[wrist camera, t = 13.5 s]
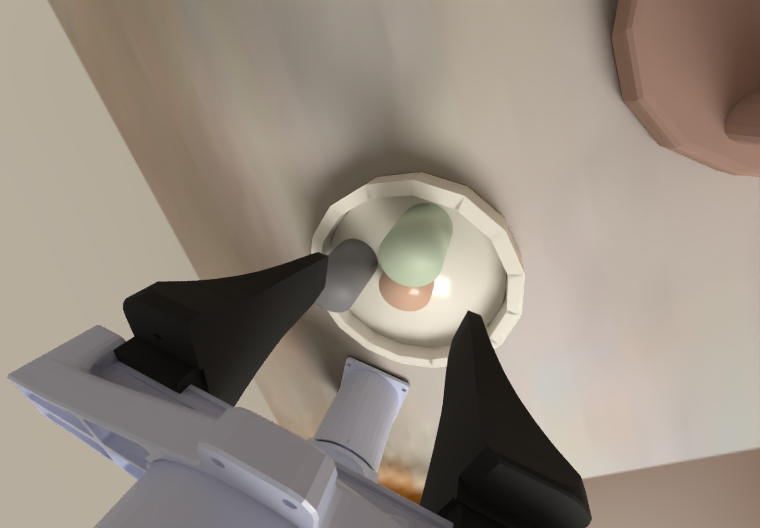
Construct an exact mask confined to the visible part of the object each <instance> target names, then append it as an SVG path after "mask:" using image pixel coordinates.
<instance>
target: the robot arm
mask: <svg viewBox="0 0 760 528" xmlns="http://www.w3.org/2000/svg"><path fill="white" fill-rule="evenodd" d="M328 259H329V256H327V255H325V254H322V253H320V252H317V253H313V254H310V255H308V256H305V257H302V258H299V259H297V260H294V261H291V262H288V263H285V264H282V265H279V266H275V267H272V268H269V269H265V270H262V271H258V272H254V273H249V274H244V275H239V276H233V277H226V278H219V279H210V280H198V281H172V282H171V281H168V282H156V283H154V284H152V285H150V286H149V287H147V288H145V289H143V290H141V291H139V292H137V293H136V294H134V295H132V296H130V297H128V298H126V299H125V301H124V303H123V310H124V313H125V316H126V318H127V321H128V323H129V325H130V327H131V330H132V332H133V334H134V337H133V338H131V339H130V340H128V341H127V342H126V341H125V340H124V339H123V338H122V337H121V336H119V335H118V334H116V333H114V332H112V331H110V330H108V329H106V328H104V327H102V326H100V325H96V326H94V327H93V328H91V329H89V330H87V331H85V332H84V333H82V334H80V335H78V336H77V337H75V338H73V339H71V340H70V341H68V342H66V343H64V344H62V345H60V346H59V347H57V348H55V349H53V350H51V351H50V352H48V353H46V354H44V355H42V356H41V357H39V358H37V359H35V360H33V361H32V362H30V363H28V364H26V365H24V366H23V367H21V368H19V369H17V370H16V371H14V372H12V373H10V374H9V375H8V379H9V380H10V381H11V382H12V383H13V384H14V385H15V386H16V387H17V388H18V389H19V390H20V392H21V393H23V395H24V396H26V398H27V399H28V400H29V401H30V402H31V403H32V404H33V405H34V406H35V407H36V408H37V409H38V410H39V411H40V412H41V413H42V414H43V415H44V416H45V417H46V418H48V419H49V420H51V421H52V422H54V423H56V424H57V425H59V426H60V427H62V428H63V429H65V430H66V431H68V432H69V433H71V434H72V435H74V436H75V437H77V438H78V439H80V440H81V441H83V442H84V443H86V444H87V445H89V446H90V447H91V448H93V449H94V450H96V451H97V452H98V453H100V454H101V455H103V456H104V457H106V458H107V459H109V460H110V461H111V462H113V463H114V464H116V465H117V466H118V467H120V468H121V469H122V470H124V471H125V472H127V473H128V474H130V475H131V476H132V477H134V478H135V479H137V480H138V481H137V482H136V483H135V484H134V485H133V486H132V487H131V488H130V490H128V492H127V493H126V494H125V495H124V496H123V497H122V498H121V499H120V500H119V501H118V502H117V503H116V504H115V505H114V506H113V508H112V509H111V510H110V511H109V512H108V513H107V514H106V515H105V516H104V517H103V518H102V519H101V520H100V521H99V522H98V523H97V525H96V526H95V527H94V528H586V527H587V526H588V525H589V524H590V522H591V519H592V517H591V513H590V509H589V504H588V500H587V495H586V491H585V488H584V485H583V481H582V478H581V476H580V475H579V474H578V473H577V471H576V470H575V469H574V468H573V467H572V466H571V465H570V463H569V462H568V461H567V460H566V459H565V458H564V457H563V455H562V454H561V453H560V452H559V451H558V450H557V449H556V447H555V446H554V445H553V444H552V443H551V441H550V440H549V439H548V437H547V436H546V435H545V434H544V432H543V431H542V430H541V429H540V427H539V426H538V425H537V423H536V422H535V420H534V419H533V418H532V416H531V415H530V413H529V412H528V410H527V409H526V408H525V406H524V405H523V403H522V402H521V400H520V399H519V397H518V395H517V394H516V392H515V390H514V389H513V387H512V385H511V384H510V382H509V380H508V378H507V376H506V375H505V373H504V371H503V368H502V366H501V364H500V362H499V360H498V358H497V356H496V353H495V351H494V348H493V346H492V344H491V341H490V338H489V336H488V333H487V330H486V327H485V324H484V322H483V319H482V316H481V315H479V314H477V313H474V312H471V311H469V310H468V311H467V313H466V315H465V317H464V318H463V320H462V322H461V324H460V326H459V328H458V330H457V331H456V333H455V335H454V337H453V339H452V342H451V346H450V350H449V355H448V360H447V369H446V378H445V388H444V397H443V406H442V412H441V417H440V422H439V427H438V431H437V436H436V440H435V445H434V449H433V454H432V458H431V462H430V466H429V470H428V474H427V479H426V483H425V487H424V490H423V494H422V498H421V502H420V505H418V504H416V503H414V502H412V501H410V500H408V499H407V498H405V497H403V496H401V495H399V494H397V493H395V492H393V491H391V490H390V489H388V488H386V487H384V486H382V485H380V484H378V483H377V480H378V477H379V474H378V473H377V472H378V469H379V465H380V462H381V459H382V456H383V452H384V449H385V446H386V443H387V439H388V436H389V433H390V430H391V426H392V424H393V422H394V420H395V418H396V416H397V414H398V412H399V409H400V407H401V405H402V403H403V401H404V399H405V397H406V395H407V393H408V391H409V388H410V385H409V384H408V383H407V382H404V381H402V380H400V379H398V378H396V377H393V376H391V375H389V374H387V373H385V372H382V371H380V370H378V369H376V368H374V367H371V366H369V365H367V364H365V363H362V362H360V361H358V360H356V359H354V358H351V357H348V358H347V360H346V363H345V367H344V372H343V376H342V381H341V385H340V389H339V390H338V392H337V394H336V396H335V398H334V400H333V402H332V404H331V405H330V407H329V409H328V411H327V413H326V415H325V417H324V419H323V420H322V422H321V424H320V426H319V428H318V430H317V432H316V434H315V435H314V437H313V439H311V438H309V439H308V441H307V440H306V439H304V438H302V437H300V436H298V435H296V434H294V433H292V432H290V431H288V430H287V429H285V428H283V427H281V426H279V425H277V424H275V423H273V422H271V421H269V420H268V419H266V418H264V417H262V416H260V415H258V414H256V413H254V412H252V411H250V410H247V409H245V408H241V407H234V406H235V405H236V403H237V402H238V400H239V399H240V397H241V395H242V394H243V392H244V391H245V389H246V388H247V386H248V385H249V383H250V382H251V380H252V379H253V377H254V376H255V374H256V373H257V371H258V370H259V368H260V367H261V366H262V364H263V363H264V361H265V360H266V359H267V357H268V356H269V354H270V353H271V352H272V350H273V349H274V348H275V346H276V345H277V344H278V342H279V341H280V340H281V338H282V337H283V336H284V335H285V334H286V333H287V331H288V330H289V329H290V328H291V327H292V326H293V325H294V324H295V323H296V322H297V321H298V320H299V319H300V317H301V316H302V315H303V314H304V313H305V312H306V311H307V310H308V309H309V308H310V307H311V306H312V304H313V303H314V302H315V301H316V299H317V298H318V297H319V295H320V294H321V292H322V291H323V289H324V288H325V283H326V275H327V267H328Z"/></svg>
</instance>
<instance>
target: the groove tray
mask: <svg viewBox="0 0 760 528" xmlns="http://www.w3.org/2000/svg"><path fill="white" fill-rule="evenodd" d="M419 203H431V204H434V205H437V206H439V207H441V208H442V209H443V210H444V211H445V212H446V213H447V214H448V215H449V217H450V219H451V221H452V225H453V233H452V237H451V240H450V243H449V247H448V250H447V253H446V257H445V260H444V263H443V267H442V270H441V272H440V274H439V276H438V277H437V278H436V279H435V280H434V281H433V282H431V283H429V284H427V285H425V286H421V287H408V286H404V285H401V284H399V283H397V282H395V281H394V280H392V279H391V278H390V277H389V276H388V275H387V274H386V273H385V272H384V270H383V269H382V267H381V265H380V262H379V256H378V251H379V247H380V244H381V242H382V240H383V239H384V238H385V236H386V235H387V234H388V233H389V231H390V230H391V229H392V228H393V226H394V225H395V224H396V223H397V221H398V220H399V219H400V218H401V217H402V215H403V214H404V213H405V212H406V211H407V210H408V209H409V208H410V207H412V206H413V205H416V204H419ZM351 209H352V210H351ZM350 210H351V211H350ZM347 239H358V240H361V241H363V242H365V243H366V244H368V245H369V246H370V247H371V248H372V249H373V251H374V252H375V254H376V256H377V260H378V266H377V270H376V272H375V273H374V275H373V276H372V278H371V279H370V280H369V282H368V283H367V285H366V286H365V288H364V289H363V291H362V292H361V293H360V295H359V296H358V298H357V299H356V301H355V302H354V304H353V305H352V306H351V308H350V309H348V310H347V311H345V312H340V313H335V312H331V311H328V310H327V311H328V312H329V314H330V315H331V316H332V318H333V319H334V320H335V322H336V323H337V325H338V326H339V327H340V328H341V329H342V330H343V331H345V332H346V333H347V334H349V335H350V336H351V337H352V338H354V339H355V340H356V341H357V342H359V343H360V344H361V345H362V346H364V347H365V348H366V349H368V350H371V351H373V352H375V353H377V354H380V355H382V356H384V357H386V358H389V359H391V360H393V361H395V362H398V363H403V364H410V365H416V366H423V367H429V368H438V367H445V366H447V360H448V355H449V350H450V346H451V342H452V339H453V337H454V335H455V333H456V331H457V330H458V328H459V326H460V324H461V322H462V320H463V318H464V317H465V315H466V313H467V311H468V310H469V311H471V312H474V313H477V314H479V315H481V316H482V319H483V322H484V324H485V327H486V330H487V333H488V336H489V338H490V341H491V344H492V346H493V348H494V349H495V348H497V347H499V346H500V345H501V344H502V343H503V341H504V340H505V338H506V337H507V335H508V334H509V333H510V331H511V330H512V328H513V327H514V325H515V324H516V323H517V321H518V320H519V318H520V317H521V315H522V304H523V293H524V281H525V272H524V267H523V262H522V257H521V255H520V253H519V251H518V248H517V246H516V244H515V241H514V239H513V237H512V235H511V232H510V230H509V228H508V226H507V223H506V221H505V219H504V217H503V216H501V215H500V214H499V213H498V212H497V211H496V210H494V209H493V208H492V207H491V206H490V205H489V204H487V203H486V202H485V201H484V200H483V199H482V198H480V197H479V196H478V195H477V194H476V193H475V192H473V191H472V190H471V189H470V188H469V187H468V186H465V185H462V184H458V183H455V182H452V181H449V180H445V179H442V178H439V177H436V176H433V175H429V174H426V173H423V172H417V173H408V174H399V175H390V176H381V177H376V178H375V179H373V180H371V181H370V182H368V183H367V184H365V185H363V186H362V187H360V188H358V189H357V190H355V191H354V192H352V193H350V194H349V195H347V196H346V197H344V198H342V199H341V200H339V201H338V202H336V203H334V204H333V205H331V206H330V208H329V209H328V211H327V213H326V214H325V216H324V218H323V219H322V221H321V223H320V224H319V226H318V228H317V229H316V231H315V233H314V234H313V236H312V249H311V254H313V253H317V252H320V253H322V254H325V255H328V254H329V253H330V252H332V251H333V250H334V249H335V248H336V247H337V246H338V245H339V244H340V243H341V242H343V241H344V240H347Z"/></svg>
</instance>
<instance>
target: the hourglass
mask: <svg viewBox="0 0 760 528" xmlns="http://www.w3.org/2000/svg"><path fill="white" fill-rule="evenodd" d="M611 39H612V44H613V50H614V55H615V60H616V66H617V71H618V76H619V81H620V87H621V92H622V97H623V101H624V103H625V104H626V105H627V106H628V108H629V109H630V110H631V111H632V112H633V114H634V115H635V116H636V117H637V119H638V120H639V121H640V122H641V124H642V125H643V126H644V127H645V129H646V130H647V131H648V132H649V133H650V135H651V136H652V137H653V138H654V140H655V141H656V142H657V143H658V144H659V145H660V146H662V147H665V148H667V149H669V150H672V151H674V152H676V153H678V154H681V155H683V156H685V157H688V158H690V159H692V160H694V161H697V162H699V163H701V164H704V165H706V166H708V167H710V168H713V169H715V170H718V171H721V172H725V173H728V174H732V175H741V176H755V177H760V0H618V5H617V10H616V16H615V21H614V26H613V32H612V37H611Z"/></svg>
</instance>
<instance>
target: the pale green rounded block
mask: <svg viewBox="0 0 760 528" xmlns="http://www.w3.org/2000/svg"><path fill="white" fill-rule="evenodd" d="M452 233H453V225H452V221H451V219H450V217H449V215H448V214H447V213H446V212H445V211H444V210H443V209H442V208H441V207H439V206H437V205H434V204H431V203H419V204H416V205H413V206H412V207H410V208H409V209H408V210H407V211H406V212H405V213H404V214H403V215H402V217H401V218H400V219H399V220H398V221H397V223H396V224H395V225H394V226H393V228H392V229H391V230H390V231H389V233H388V234H387V235H386V236H385V238H384V239H383V240H382V242H381V244H380V247H379V251H378V256H379V262H380V265H381V267H382V269H383V270H384V272H385V273H386V274H387V275H388V276H389V277H390V278H391V279H392V280H394V281H395V282H397V283H399V284H401V285H404V286H408V287H421V286H425V285H427V284H429V283H431V282H433V281H434V280H435V279H436V278H437V277H438V276H439V274H440V272H441V270H442V267H443V263H444V260H445V257H446V253H447V250H448V247H449V243H450V240H451V237H452Z"/></svg>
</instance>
